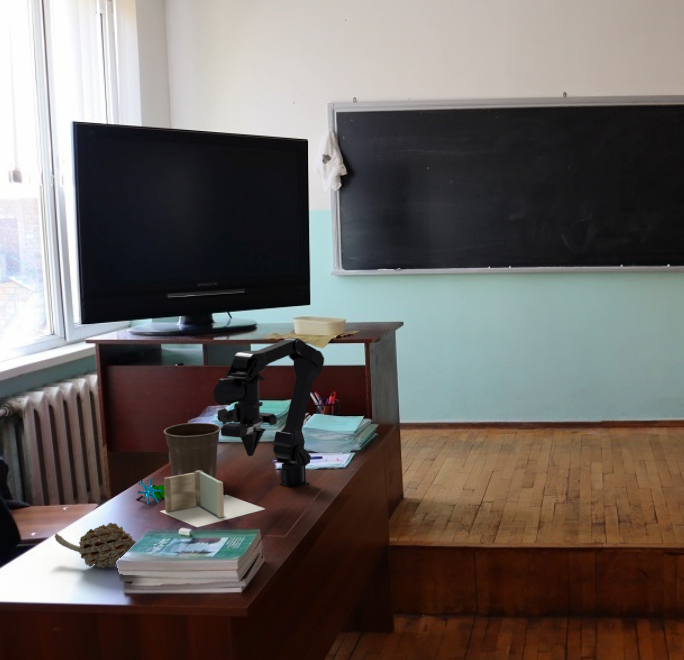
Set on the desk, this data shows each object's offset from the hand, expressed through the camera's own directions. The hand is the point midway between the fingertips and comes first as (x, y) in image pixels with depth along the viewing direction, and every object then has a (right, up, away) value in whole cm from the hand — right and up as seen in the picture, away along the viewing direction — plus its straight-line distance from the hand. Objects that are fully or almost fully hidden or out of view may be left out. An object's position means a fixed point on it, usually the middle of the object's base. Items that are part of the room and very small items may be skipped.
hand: (250, 455), depth 262 cm
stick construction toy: (-27, -13, +2) cm, 30 cm away
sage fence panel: (-9, -13, -11) cm, 19 cm away
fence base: (-17, -13, -7) cm, 22 cm away
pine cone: (-31, -19, -46) cm, 59 cm away
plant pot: (-18, -11, +18) cm, 27 cm away
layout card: (-9, -13, -9) cm, 19 cm away
